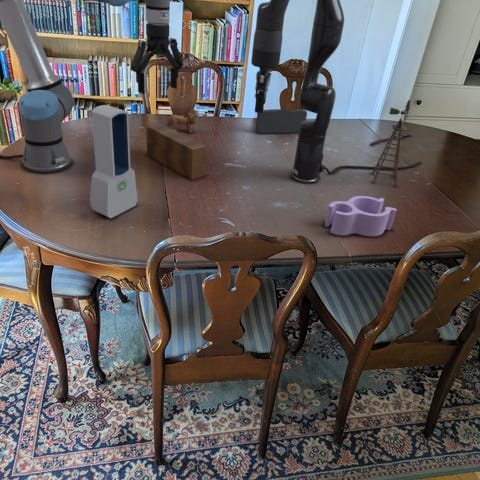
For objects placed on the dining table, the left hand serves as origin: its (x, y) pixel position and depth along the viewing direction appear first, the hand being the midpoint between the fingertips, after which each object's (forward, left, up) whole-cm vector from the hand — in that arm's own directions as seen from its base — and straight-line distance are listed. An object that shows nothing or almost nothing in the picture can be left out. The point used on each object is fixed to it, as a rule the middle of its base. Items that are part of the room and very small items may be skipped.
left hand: (157, 90), depth 161 cm
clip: (+71, -32, -24) cm, 82 cm away
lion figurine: (+3, +29, -24) cm, 38 cm away
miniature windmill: (+85, +6, -24) cm, 88 cm away
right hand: (+37, -28, +7) cm, 47 cm away
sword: (+95, +52, -24) cm, 110 cm away
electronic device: (-1, -42, -24) cm, 49 cm away
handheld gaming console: (+44, +43, -24) cm, 66 cm away
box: (+8, -6, -24) cm, 26 cm away
